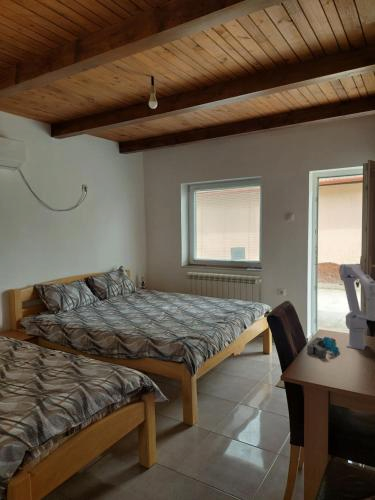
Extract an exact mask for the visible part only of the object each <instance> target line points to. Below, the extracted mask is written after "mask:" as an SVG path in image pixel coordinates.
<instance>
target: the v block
mask: <svg viewBox="0 0 375 500" xmlns="http://www.w3.org/2000/svg"><path fill="white" fill-rule="evenodd" d="M329 338H330V339H329V340H331V339H332V340H333V342H332V343H335V342H337V341H336V339H335V338H333V337H329ZM323 339H324V338H322V337H318V336H316V337H315V338H314V339H312V341H311V342H310V343H308V344H307V345H306V354H308V355H312V356H313V355H314V356H315V357H317V358H318V359H320V360H323V359H326V358H327V350H325V348H326V344H324V343H323V342H324V340H323Z"/></svg>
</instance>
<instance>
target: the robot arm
mask: <svg viewBox="0 0 375 500" xmlns="http://www.w3.org/2000/svg"><path fill="white" fill-rule="evenodd" d="M338 274H339V277H340V280H341V281H342V282H343V285H344V291H345V295H346V300H347V304H348V309H349V312H348V313H347V314H346V315H345V325H346V328H347V329H348V330H349V331H348V333H349V334H348V335H349V336H348V344H346V348H351V349H357V350H363V351H364V350H365V348H366V347H367V346H368V345H367V343H365V340H366V339H365V337H366V333H365V332H366V331H367V329H368V330H369V334H370V337H373V338H375V280H374V279H373V278H372V277H371V276H370V275H369V274H365V273H364V271H363V270H362V265H360V264H359V263H345V264H344V263H341V264H340V265H339V269H338ZM356 281H358V283H359V284H360V285H361V286H362V288H363V289H364V293H365V298H366V312H365V313H364V312H363V311H362V310H361V308H360V303H359V300H358V294H357V290H356V287H355V282H356Z"/></svg>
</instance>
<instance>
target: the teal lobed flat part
mask: <svg viewBox="0 0 375 500" xmlns="http://www.w3.org/2000/svg"><path fill="white" fill-rule="evenodd" d="M330 338H331V337H329V336H328V337H327V336H324V337H323V338H322V339H323V340H324V342H323V343H324V344H326V348H324V349H325V350H326V351H329V352H330V353H332V354H333V355H336V356H337V355H339V354H340V351H339V350H340V349H339V347H337V343H336V342H337V341H336V342H335V343H332V342H333V340H332V339H331V340H329V339H330Z"/></svg>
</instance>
